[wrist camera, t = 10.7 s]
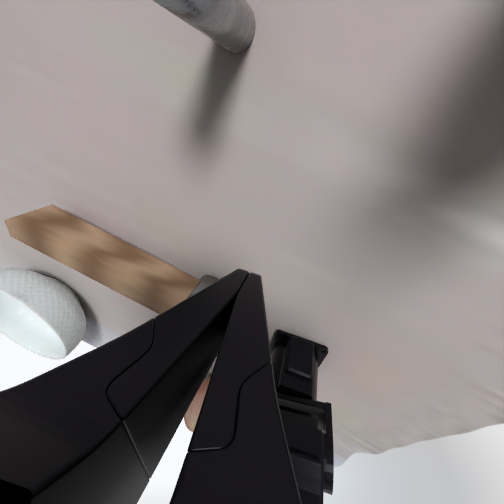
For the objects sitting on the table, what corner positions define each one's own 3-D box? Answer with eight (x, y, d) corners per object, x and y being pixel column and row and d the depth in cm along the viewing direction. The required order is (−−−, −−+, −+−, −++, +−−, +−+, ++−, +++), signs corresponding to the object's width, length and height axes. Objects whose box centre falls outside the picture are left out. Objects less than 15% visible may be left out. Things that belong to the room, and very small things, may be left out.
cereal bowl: (78, 333, 45) (42, 365, 39) (8, 272, 40) (-46, 298, 34) (120, 318, 37) (82, 356, 31) (39, 238, 31) (-26, 266, 26)
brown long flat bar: (226, 283, 24) (201, 324, 20) (219, 299, 26) (194, 341, 21) (60, 198, 25) (-4, 217, 20) (64, 219, 27) (6, 242, 22)
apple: (197, 379, 40) (173, 430, 34) (203, 359, 36) (175, 413, 29) (237, 398, 40) (219, 453, 33) (247, 380, 35) (229, 439, 29)
